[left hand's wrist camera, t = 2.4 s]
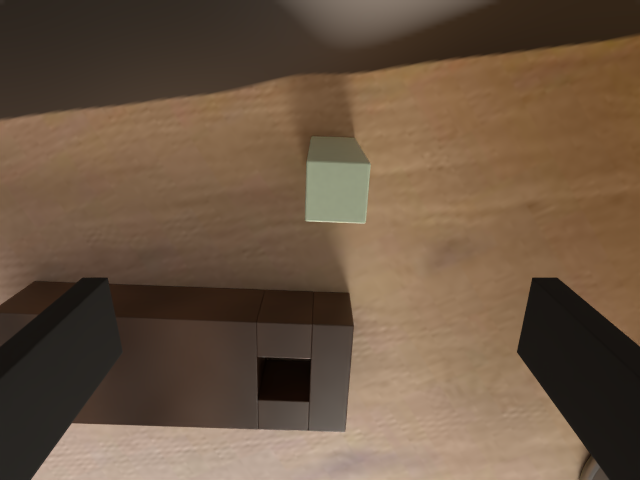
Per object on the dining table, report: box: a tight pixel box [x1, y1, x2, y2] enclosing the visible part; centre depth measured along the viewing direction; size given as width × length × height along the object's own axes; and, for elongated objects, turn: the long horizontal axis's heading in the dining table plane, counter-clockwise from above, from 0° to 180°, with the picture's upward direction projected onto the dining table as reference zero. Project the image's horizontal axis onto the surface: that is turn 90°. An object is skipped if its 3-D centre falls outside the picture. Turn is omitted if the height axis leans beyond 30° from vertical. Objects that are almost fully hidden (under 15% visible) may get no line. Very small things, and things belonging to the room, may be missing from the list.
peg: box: [305, 136, 371, 223], centre depth 26 cm, size 3×3×10 cm
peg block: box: [0, 281, 354, 432], centre depth 30 cm, size 26×10×12 cm, turn 88°
